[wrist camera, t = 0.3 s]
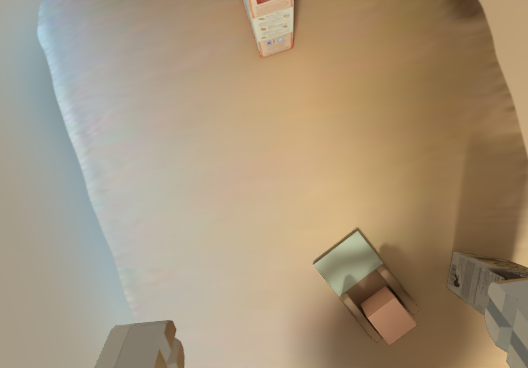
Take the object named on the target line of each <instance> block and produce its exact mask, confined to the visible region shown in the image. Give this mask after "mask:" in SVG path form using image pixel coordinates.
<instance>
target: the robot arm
mask: <svg viewBox="0 0 528 368" xmlns="http://www.w3.org/2000/svg"><path fill="white" fill-rule="evenodd" d="M488 295H489V297H490V298H491V299H492V301H491V302H490V303H489V304H488V305H487V306H486V307H485V322H486V327H487V330H488V332H489V334H490V337H491V338H492V340H493V342H494V343H495V345H496V346H498V347H499V348H501V349H502V350H504V351H506V352H507V353H508V354H507V360H506V362H507V364H508V365H509V367H510V368H528V278H520V279H512V280H504V281H496V282H492V283H491V284H490V285H489V288H488ZM175 333H176V328H175V325H174V323H173V321H170V320H166V321H155V322H144V323H134V324H126V325H116V326H115V327H114V328H113V329H112V330H111V331H110V333H109V335H108V338H107V340H106V342H105V345H104V347H103V349H102V351H101V354H100V356H99V358H98V360H97V363H96V365H95V367H94V368H184V350H183V346H182V344H181V341H179V340H178V339H176V338H175Z"/></svg>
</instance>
